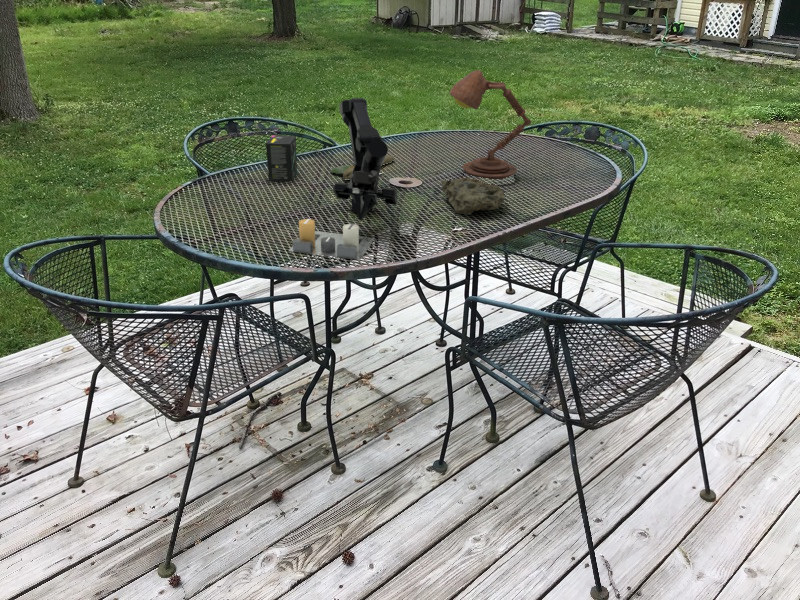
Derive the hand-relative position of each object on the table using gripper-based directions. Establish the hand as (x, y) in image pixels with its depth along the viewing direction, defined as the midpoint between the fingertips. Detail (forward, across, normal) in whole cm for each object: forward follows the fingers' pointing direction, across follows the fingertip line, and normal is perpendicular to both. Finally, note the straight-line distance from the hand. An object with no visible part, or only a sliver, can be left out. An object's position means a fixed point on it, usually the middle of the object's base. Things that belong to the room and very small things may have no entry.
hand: (359, 219), depth 190 cm
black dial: (+12, -6, -4) cm, 14 cm away
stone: (-24, +29, +34) cm, 51 cm away
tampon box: (-30, -45, +41) cm, 68 cm away
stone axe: (-42, -18, +53) cm, 70 cm away
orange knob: (+11, -13, -4) cm, 17 cm away
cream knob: (+11, 0, -3) cm, 11 cm away
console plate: (+10, -6, 0) cm, 12 cm away
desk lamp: (-47, +29, +58) cm, 80 cm away
